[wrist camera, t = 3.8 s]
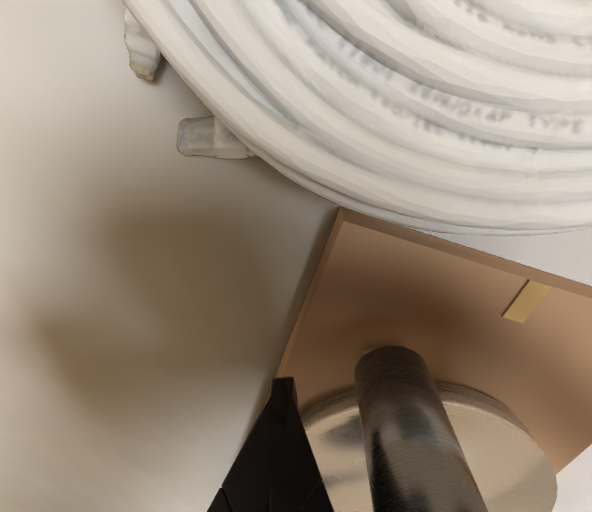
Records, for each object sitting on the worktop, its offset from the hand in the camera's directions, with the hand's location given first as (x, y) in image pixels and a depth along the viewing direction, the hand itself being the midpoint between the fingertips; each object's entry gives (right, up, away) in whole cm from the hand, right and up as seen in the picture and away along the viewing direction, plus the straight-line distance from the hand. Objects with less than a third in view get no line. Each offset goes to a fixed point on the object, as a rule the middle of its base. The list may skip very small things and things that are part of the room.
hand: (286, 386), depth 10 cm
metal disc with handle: (+5, -5, +5) cm, 9 cm away
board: (+5, -6, +7) cm, 11 cm away
